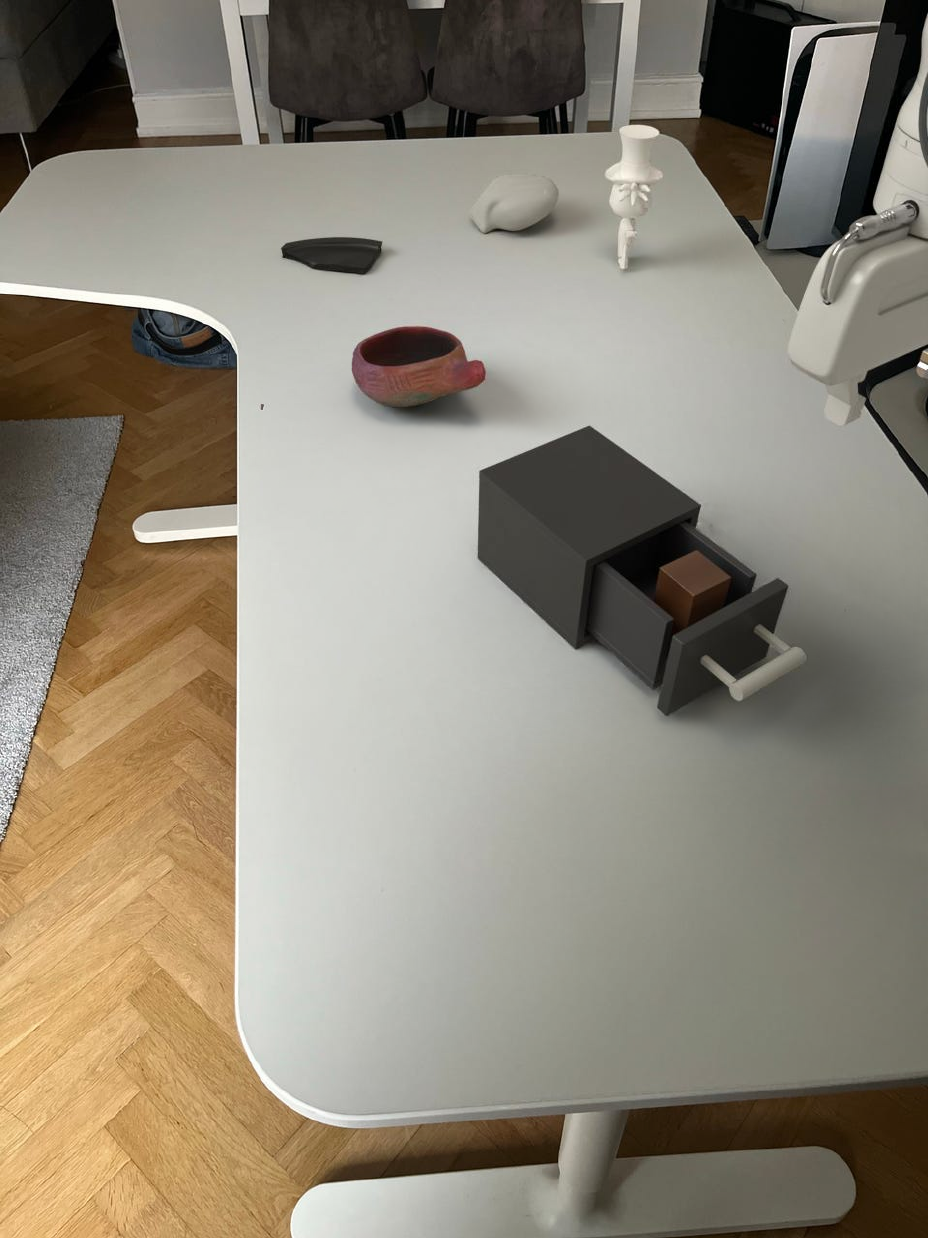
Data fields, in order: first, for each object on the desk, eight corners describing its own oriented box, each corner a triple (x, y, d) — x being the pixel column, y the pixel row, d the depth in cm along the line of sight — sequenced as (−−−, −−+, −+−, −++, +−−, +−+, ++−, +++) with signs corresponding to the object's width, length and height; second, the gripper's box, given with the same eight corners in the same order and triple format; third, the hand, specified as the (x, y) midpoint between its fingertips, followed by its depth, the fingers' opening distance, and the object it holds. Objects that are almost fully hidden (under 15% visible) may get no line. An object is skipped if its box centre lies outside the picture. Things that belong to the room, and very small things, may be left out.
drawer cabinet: (682, 593, 92) (701, 504, 85) (575, 649, 87) (586, 560, 80) (579, 511, 101) (589, 425, 93) (477, 558, 95) (479, 470, 88)
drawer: (808, 691, 82) (836, 619, 76) (708, 755, 77) (729, 683, 71) (657, 570, 93) (670, 499, 87) (560, 620, 88) (568, 547, 82)
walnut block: (713, 647, 84) (731, 577, 79) (677, 666, 83) (694, 596, 77) (681, 619, 87) (696, 549, 81) (646, 637, 85) (659, 567, 79)
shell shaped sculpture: (562, 210, 155) (565, 167, 150) (548, 244, 146) (551, 199, 141) (481, 202, 157) (481, 159, 152) (462, 234, 148) (462, 190, 143)
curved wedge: (297, 240, 146) (296, 229, 145) (385, 251, 144) (384, 240, 143) (275, 263, 141) (273, 252, 139) (365, 276, 138) (364, 264, 137)
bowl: (341, 422, 112) (335, 358, 106) (367, 364, 121) (363, 303, 115) (482, 436, 110) (483, 372, 105) (498, 376, 119) (500, 315, 114)
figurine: (652, 283, 137) (672, 146, 124) (596, 281, 137) (611, 144, 125) (647, 250, 145) (665, 118, 132) (594, 248, 145) (608, 116, 132)
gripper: (889, 248, 50) (818, 472, 60) (1112, 165, 59) (1019, 373, 68) (793, 207, 54) (742, 424, 64) (1016, 134, 62) (941, 336, 72)
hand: (887, 397), depth 66 cm, fingers open, 8 cm apart
